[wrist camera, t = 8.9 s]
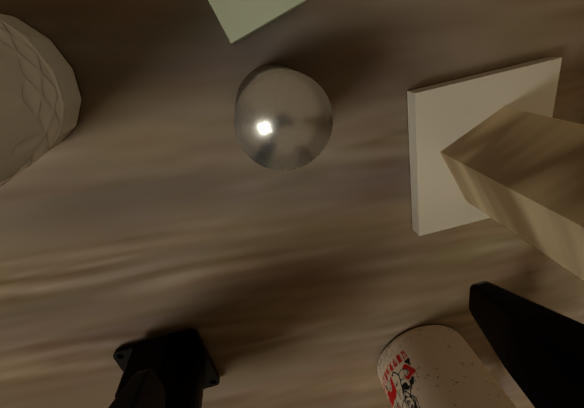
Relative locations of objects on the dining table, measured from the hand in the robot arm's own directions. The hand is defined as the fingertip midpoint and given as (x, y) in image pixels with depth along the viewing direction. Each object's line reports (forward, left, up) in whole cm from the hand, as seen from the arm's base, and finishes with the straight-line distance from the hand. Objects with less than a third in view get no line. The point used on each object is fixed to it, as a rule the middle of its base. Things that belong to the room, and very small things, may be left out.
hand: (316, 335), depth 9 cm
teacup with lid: (-23, -9, -13) cm, 28 cm away
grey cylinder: (+4, -1, -13) cm, 14 cm away
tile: (-2, -13, -13) cm, 19 cm away
